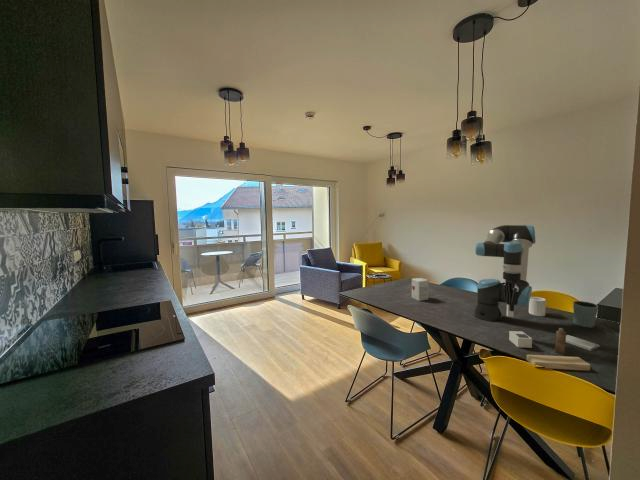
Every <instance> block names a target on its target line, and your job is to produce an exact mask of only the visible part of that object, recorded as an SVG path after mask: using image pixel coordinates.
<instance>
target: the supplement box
mask: <svg viewBox="0 0 640 480" xmlns="http://www.w3.org/2000/svg"><path fill="white" fill-rule="evenodd" d="M429 283H430V282H429V280H428V279H425V278H423V277H418V278H417V277H416V278H411V299H414V300H416V301H419V302H420V301H425V300H429V288H430V287H429Z"/></svg>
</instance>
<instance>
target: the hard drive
mask: <svg viewBox="0 0 640 480" xmlns="http://www.w3.org/2000/svg"><path fill="white" fill-rule="evenodd" d="M566 344H570V345H573V346H575V347H578V348H581V349H585V350H588V351H590V352H591V351H594V350H596V349H599V348H601V345H600V344H598V343H595V342H592V341H588V340H585V339H582V338H579V337H577V336H576V337H575V336H573V335H569V334H566ZM598 347H599V348H598Z"/></svg>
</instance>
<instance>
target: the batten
mask: <svg viewBox="0 0 640 480" xmlns="http://www.w3.org/2000/svg"><path fill="white" fill-rule="evenodd" d="M526 361H527V362H528V363H529V364H530V363H532V364H535V365H539V366H542V367H545V368H544V369H550V370H551V369H555V370H568V371H569V370H572V371H588V372H590V370H591V364H589V363H588V362H587V361H586V360H584V359H582V358H581V357H580V356H579V357H578V356H565V355H543V354H526ZM532 364H531V365H532Z"/></svg>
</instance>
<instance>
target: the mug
mask: <svg viewBox="0 0 640 480" xmlns="http://www.w3.org/2000/svg"><path fill="white" fill-rule="evenodd" d="M546 306H547V300H546V298H543V297H539V296H531V298H530V301H529V304H528V313H529V314H530V315H532V316H535V317H545V316H546Z"/></svg>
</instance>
